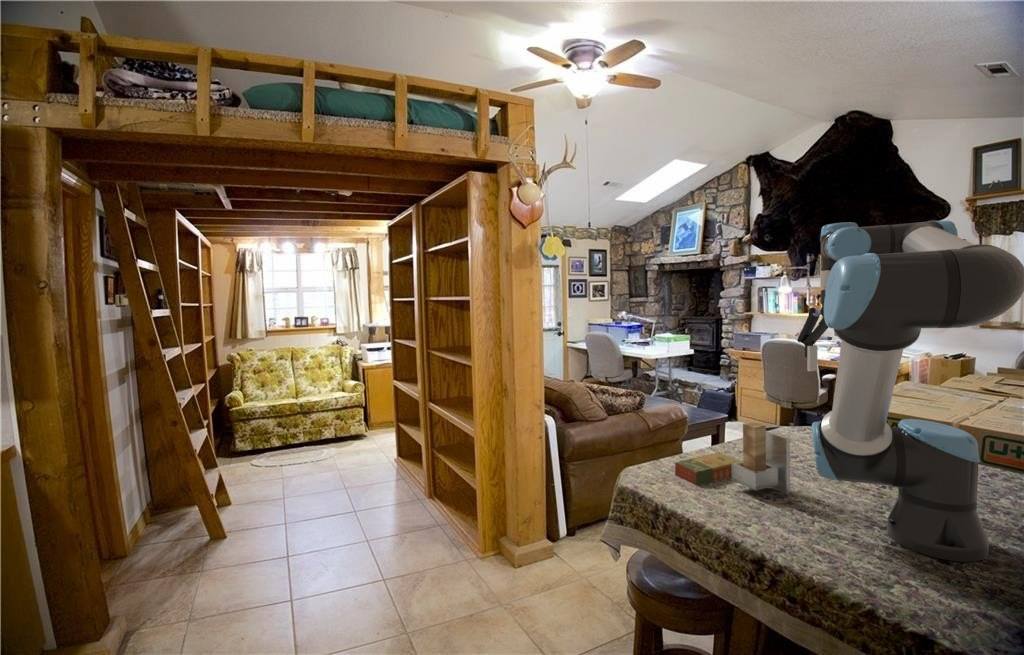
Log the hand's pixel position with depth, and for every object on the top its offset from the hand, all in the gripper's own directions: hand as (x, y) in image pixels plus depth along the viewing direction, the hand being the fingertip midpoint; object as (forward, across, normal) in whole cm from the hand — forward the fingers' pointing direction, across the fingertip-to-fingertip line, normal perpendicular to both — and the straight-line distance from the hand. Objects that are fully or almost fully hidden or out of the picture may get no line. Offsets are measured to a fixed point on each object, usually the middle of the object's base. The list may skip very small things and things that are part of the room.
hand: (838, 374), depth 120 cm
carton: (+29, +21, +21) cm, 42 cm away
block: (+26, +8, +19) cm, 33 cm away
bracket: (+29, +8, +18) cm, 35 cm away
